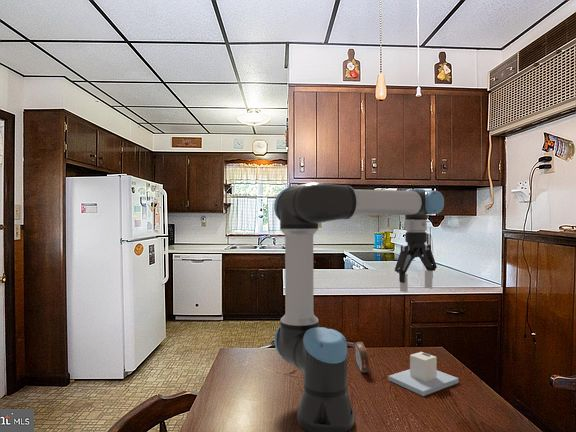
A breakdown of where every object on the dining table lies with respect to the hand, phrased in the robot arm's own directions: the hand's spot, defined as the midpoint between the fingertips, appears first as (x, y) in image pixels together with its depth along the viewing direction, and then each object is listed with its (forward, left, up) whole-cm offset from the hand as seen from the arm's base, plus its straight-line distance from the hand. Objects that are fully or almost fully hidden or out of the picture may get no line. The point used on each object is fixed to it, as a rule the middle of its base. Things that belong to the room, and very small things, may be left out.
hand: (416, 290), depth 137 cm
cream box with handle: (-7, -8, -27) cm, 29 cm away
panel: (-7, -8, -29) cm, 31 cm away
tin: (-16, +12, -29) cm, 35 cm away
